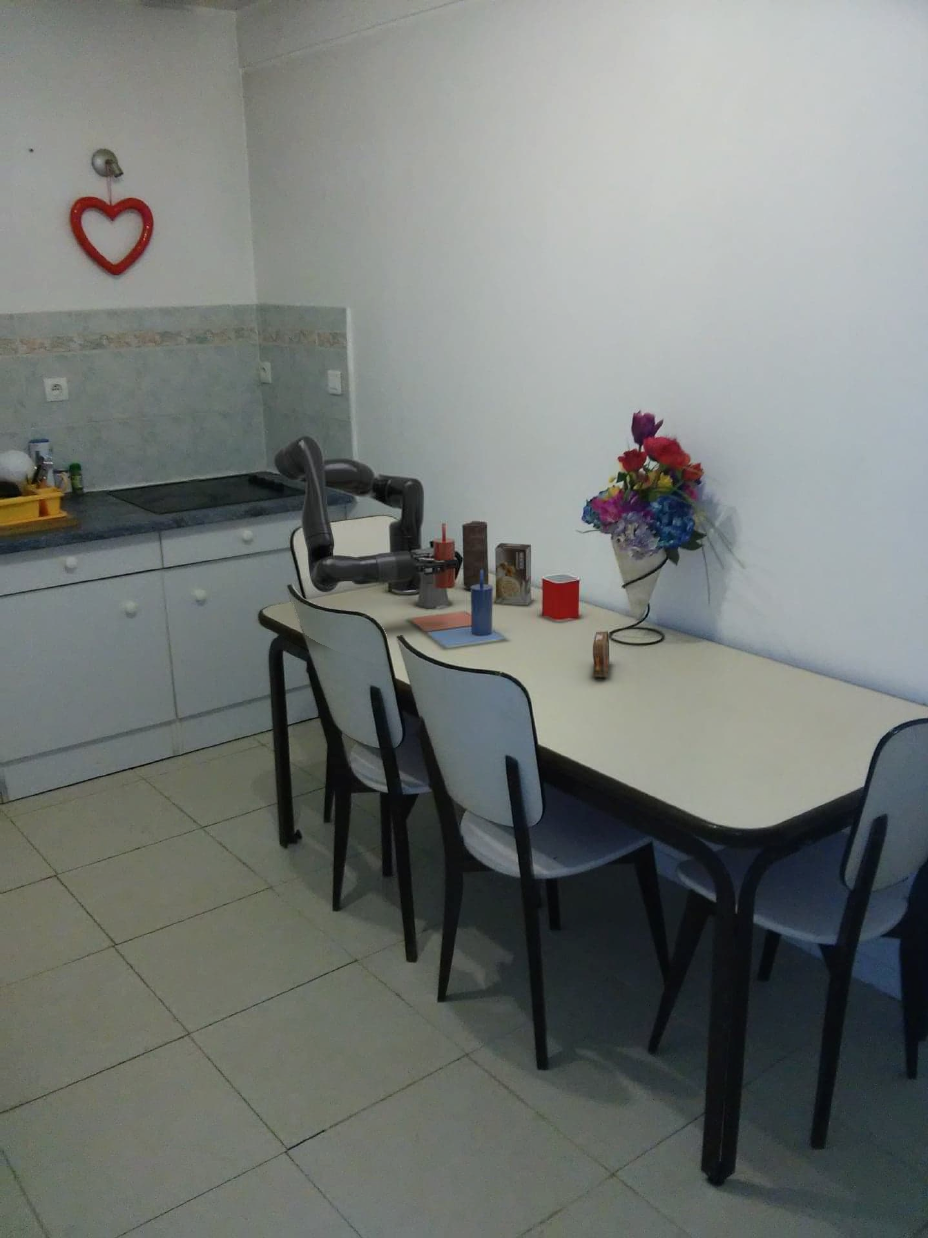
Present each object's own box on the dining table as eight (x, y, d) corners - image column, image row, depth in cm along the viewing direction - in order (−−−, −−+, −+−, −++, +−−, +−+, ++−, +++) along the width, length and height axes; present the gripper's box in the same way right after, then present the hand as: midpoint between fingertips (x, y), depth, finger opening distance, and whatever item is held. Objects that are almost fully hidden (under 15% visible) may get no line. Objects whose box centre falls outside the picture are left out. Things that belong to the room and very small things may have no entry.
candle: (470, 593, 307) (469, 525, 301) (458, 587, 313) (457, 520, 307) (493, 590, 310) (493, 522, 305) (480, 584, 317) (480, 518, 311)
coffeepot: (404, 606, 295) (403, 542, 289) (417, 597, 303) (416, 535, 298) (457, 611, 290) (456, 546, 284) (468, 602, 298) (468, 539, 293)
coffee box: (532, 599, 300) (532, 544, 295) (526, 606, 294) (527, 549, 289) (500, 597, 302) (500, 542, 298) (494, 603, 297) (494, 547, 292)
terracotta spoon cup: (430, 587, 272) (429, 524, 267) (439, 582, 277) (438, 520, 272) (450, 589, 270) (449, 525, 265) (458, 584, 275) (457, 521, 270)
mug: (582, 617, 283) (583, 579, 280) (557, 622, 279) (557, 583, 276) (555, 607, 293) (555, 569, 290) (530, 612, 288) (530, 573, 285)
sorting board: (445, 649, 259) (445, 646, 259) (409, 620, 282) (408, 617, 282) (505, 640, 265) (505, 637, 265) (464, 613, 288) (464, 610, 288)
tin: (605, 683, 235) (606, 646, 233) (590, 682, 236) (591, 646, 234) (609, 661, 250) (611, 626, 247) (596, 660, 250) (597, 625, 248)
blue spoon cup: (467, 634, 268) (467, 571, 263) (475, 628, 273) (475, 566, 268) (487, 637, 266) (487, 573, 261) (495, 630, 271) (495, 568, 266)
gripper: (400, 558, 259) (464, 552, 265) (381, 546, 271) (443, 540, 278) (401, 588, 261) (464, 581, 267) (382, 575, 274) (443, 568, 280)
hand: (453, 560), depth 272 cm, fingers closed on terracotta spoon cup, 5 cm apart
